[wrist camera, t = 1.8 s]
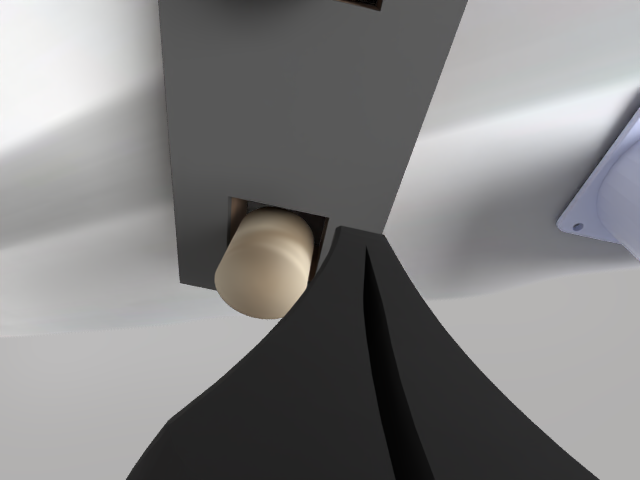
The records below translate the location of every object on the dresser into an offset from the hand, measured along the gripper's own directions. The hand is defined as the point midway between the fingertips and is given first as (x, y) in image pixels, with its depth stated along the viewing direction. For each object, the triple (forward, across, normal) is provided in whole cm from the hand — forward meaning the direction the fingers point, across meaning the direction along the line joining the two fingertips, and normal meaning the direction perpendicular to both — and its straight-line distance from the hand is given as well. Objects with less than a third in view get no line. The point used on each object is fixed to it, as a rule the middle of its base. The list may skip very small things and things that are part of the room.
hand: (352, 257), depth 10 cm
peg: (+7, +3, +5) cm, 9 cm away
